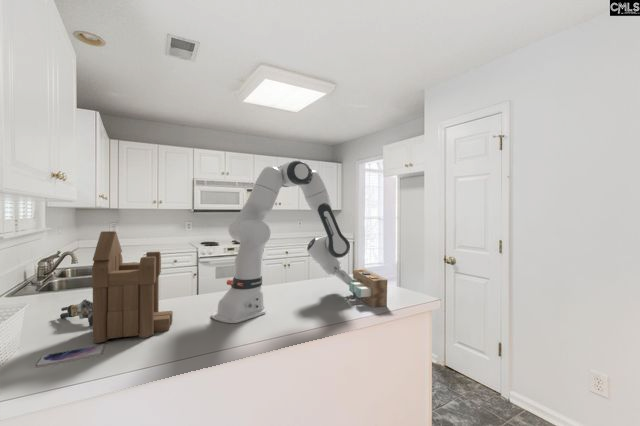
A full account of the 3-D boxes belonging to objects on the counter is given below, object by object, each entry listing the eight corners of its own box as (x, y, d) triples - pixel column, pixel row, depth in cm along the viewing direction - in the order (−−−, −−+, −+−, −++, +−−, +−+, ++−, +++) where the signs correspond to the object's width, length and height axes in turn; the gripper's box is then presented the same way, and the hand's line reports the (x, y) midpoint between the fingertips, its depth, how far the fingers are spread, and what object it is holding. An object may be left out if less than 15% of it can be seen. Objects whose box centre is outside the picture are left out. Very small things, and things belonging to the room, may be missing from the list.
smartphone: (41, 355, 87) (104, 344, 95) (41, 358, 87) (104, 346, 95) (33, 366, 81) (102, 353, 89) (33, 369, 81) (102, 356, 89)
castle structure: (168, 336, 102) (168, 233, 101) (90, 345, 95) (90, 234, 94) (176, 309, 128) (176, 226, 127) (115, 315, 120) (115, 227, 119)
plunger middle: (352, 292, 144) (352, 284, 143) (349, 290, 148) (349, 281, 147) (369, 291, 146) (369, 283, 146) (365, 289, 150) (366, 281, 150)
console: (372, 307, 136) (373, 279, 135) (352, 291, 159) (353, 268, 158) (386, 306, 138) (387, 278, 137) (364, 291, 161) (365, 267, 160)
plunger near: (359, 298, 136) (359, 288, 136) (355, 295, 140) (355, 286, 140) (377, 296, 138) (377, 287, 138) (373, 294, 142) (373, 285, 142)
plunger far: (352, 288, 152) (352, 279, 152) (349, 285, 156) (349, 277, 156) (368, 287, 154) (368, 278, 154) (365, 284, 159) (365, 276, 158)
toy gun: (95, 326, 107) (90, 298, 108) (60, 332, 115) (56, 305, 115) (104, 323, 110) (100, 296, 111) (70, 328, 118) (66, 303, 119)
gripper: (343, 265, 142) (362, 284, 145) (330, 257, 161) (346, 274, 164) (334, 274, 141) (353, 294, 143) (321, 265, 160) (338, 283, 163)
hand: (349, 284), depth 154 cm, fingers closed, pressing on plunger far
